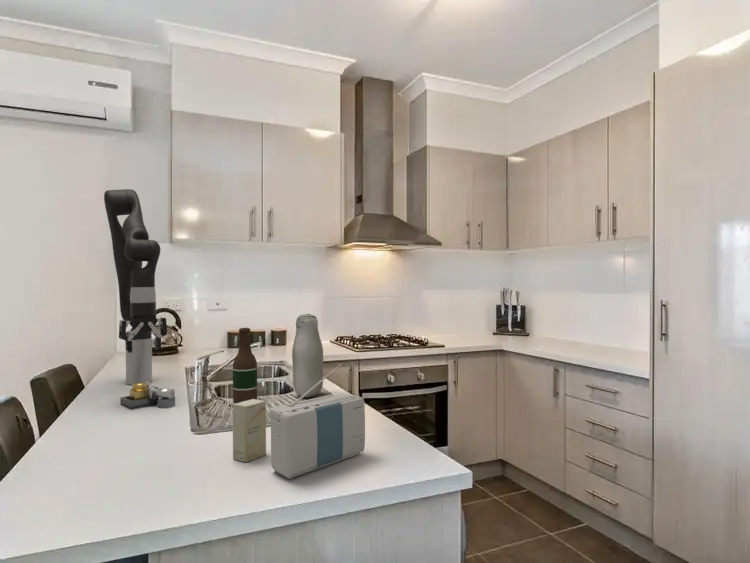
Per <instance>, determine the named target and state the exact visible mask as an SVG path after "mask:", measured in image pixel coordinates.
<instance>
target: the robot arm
mask: <svg viewBox="0 0 750 563" xmlns="http://www.w3.org/2000/svg"><path fill="white" fill-rule="evenodd" d="M103 200H104V207H105V212H106V217H107V222H108V226H109V231H110V236H111V244H112V251H113V252H112V253H113V261H114V267H115V273H116V277H117V284H118V293H119V298H118V299H119V310H120V315H121V320H120V321H119V323H118V325H119V327H118V338H119V339H120V340H124V341H125V385H132V386H133V383H137V382H143V381H146V380H147V381H149V382H150V383H151V382H153V357H152V356H153V353H152V352H153V346H152V345H153V344H152V343H153V342H152V341H153V340H152V335H153V336H154V337H155V338H154V350H155V351H157V350H158V351H159V350H160V348H161V347H162V338H163V337H165V336H166V337H167V335H168V325H167V318H166V317H157V298H156V297H157V294H156V293H157V292H156V277H155V276H156V275H155V274H156V269H157V265H158V261H159V258H160V256H161V246H160V244H159V242H158V241H156V240H155V239H154V240H152V239H149V238H150V237H149V232H148V230H147V227H146V225H145V223H144V218H143V216H144V215H143V212H142V208H141V207H142V206H141V203H140V202H141V201H140V197H139V196H138V194H137V191H136V190H134V189H131V188H130V189H127V188H125V189H109V190H105V191H104V195H103ZM118 216H127V217H126V218H125V219H124V221H123V224H122V225H121V223H120V221H119V219H118ZM143 262H147V263H146V265H145V266H143ZM157 323H158V325H159V327H160V328H159V330H158V328H157V327H156V325H157ZM129 325H130V327H131V328H130V330H129V331H127V328H128V326H129Z"/></svg>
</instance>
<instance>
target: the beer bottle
mask: <svg viewBox="0 0 750 563" xmlns="http://www.w3.org/2000/svg"><path fill="white" fill-rule="evenodd" d="M238 332H239V336H238V337H239V338H238V339H239V340H238V341H239V342H238V349H237V350H238V352H237V355H235V358H234V360H233V363H232V401H233V402H232V403H233V404H236V403H240V402H243V401H247V400H251V399H256V400H258V362H257V359H256V357H255V355H254V354H253V352H252V348H251V333H250V332H251V328H250V327H241V328H239V329H238Z"/></svg>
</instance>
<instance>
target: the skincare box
mask: <svg viewBox="0 0 750 563" xmlns="http://www.w3.org/2000/svg"><path fill="white" fill-rule="evenodd" d="M266 408H267V406H266V400H263V399H262V400H261V399H257V400H256V399H251V400H247V401H243V402H240V403H232V459H233V460H236V461H240V462H243V463H244V462H245V463H248V462H251V461H253V460H256V459H258V458H261V457H263V456H265V455H267V427H266V426H267V423H266V421H267V420H266V419H267V415H266V412H267V410H266Z"/></svg>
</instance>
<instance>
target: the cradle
mask: <svg viewBox="0 0 750 563" xmlns="http://www.w3.org/2000/svg"><path fill="white" fill-rule="evenodd" d="M158 399H160V398H156V399H150V398H146V399H140V400H134V401H131V400H130V395H126V396H121V397H120V398H119V400H120V401H119V402H120V403H119V404H120V406H122V407H124V408H126V409H128V410H130V411H131V410H136V409H141V407H142V408H145V407H147V408H148V407H150V406H151V407H152V406H156V405H157V404H158ZM157 406H158V405H157Z"/></svg>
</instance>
